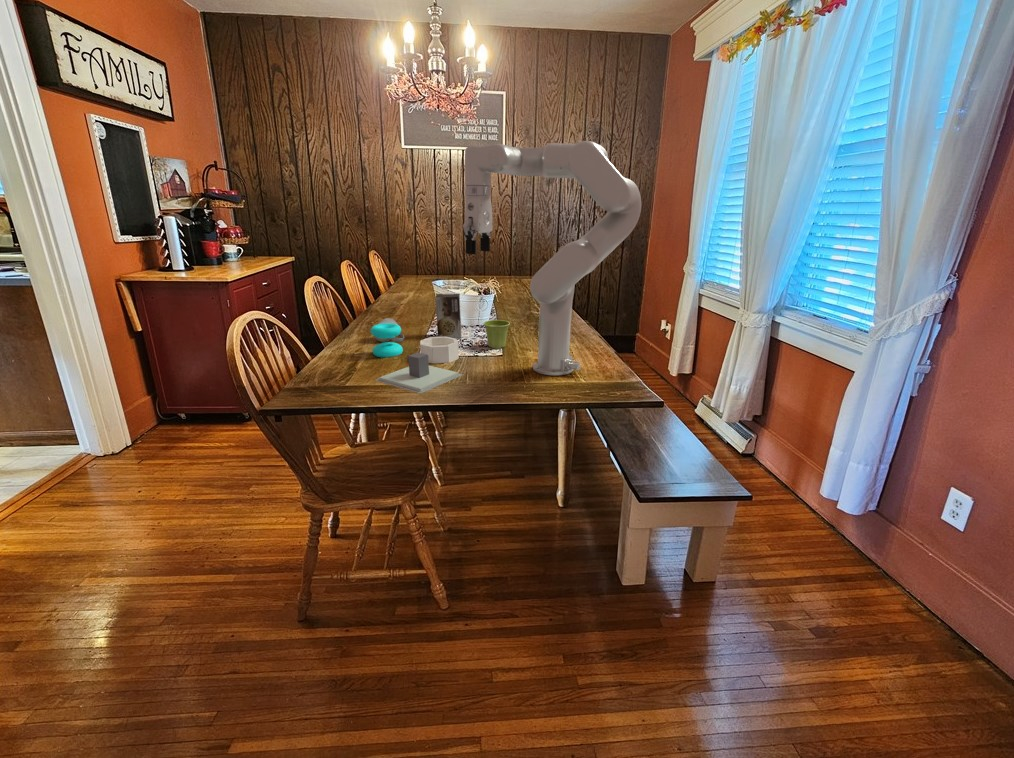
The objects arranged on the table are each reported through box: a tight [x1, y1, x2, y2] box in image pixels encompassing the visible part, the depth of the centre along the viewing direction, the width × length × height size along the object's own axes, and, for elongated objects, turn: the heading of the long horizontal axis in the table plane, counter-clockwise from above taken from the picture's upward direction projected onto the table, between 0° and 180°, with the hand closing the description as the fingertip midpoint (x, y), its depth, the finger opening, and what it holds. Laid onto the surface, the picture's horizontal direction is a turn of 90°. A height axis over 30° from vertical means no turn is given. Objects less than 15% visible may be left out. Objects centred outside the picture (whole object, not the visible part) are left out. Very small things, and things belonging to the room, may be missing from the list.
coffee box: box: [435, 293, 463, 339], centre depth 183 cm, size 9×6×16 cm
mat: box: [374, 373, 463, 394], centre depth 140 cm, size 18×18×1 cm
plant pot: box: [483, 319, 511, 349], centre depth 171 cm, size 9×9×9 cm
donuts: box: [370, 323, 404, 359], centre depth 161 cm, size 10×10×10 cm
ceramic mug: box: [373, 317, 405, 343], centre depth 178 cm, size 11×8×8 cm
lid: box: [379, 352, 459, 391], centre depth 139 cm, size 16×16×7 cm
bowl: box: [419, 336, 460, 364], centre depth 157 cm, size 12×12×6 cm
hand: (478, 252), depth 146 cm, fingers open, 9 cm apart
